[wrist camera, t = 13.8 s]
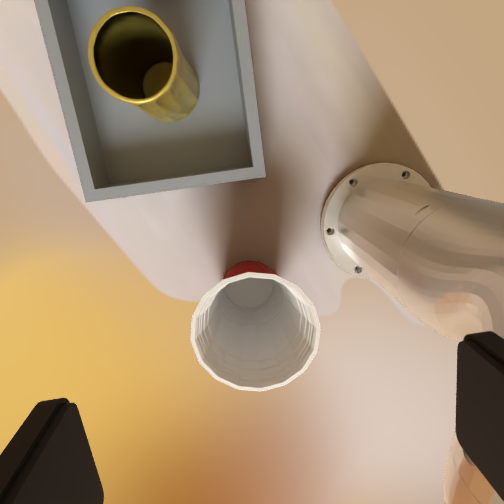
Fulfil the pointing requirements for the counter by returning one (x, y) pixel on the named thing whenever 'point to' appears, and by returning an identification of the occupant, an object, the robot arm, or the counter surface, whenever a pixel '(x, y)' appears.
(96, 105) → the box
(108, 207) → the counter surface
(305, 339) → the plastic cup
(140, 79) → the vase
